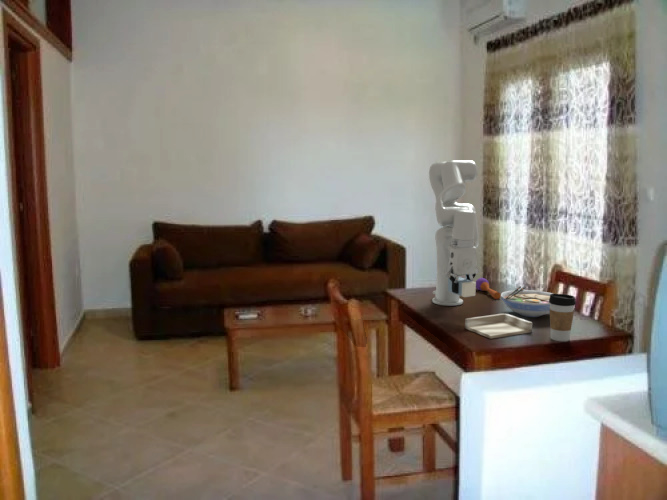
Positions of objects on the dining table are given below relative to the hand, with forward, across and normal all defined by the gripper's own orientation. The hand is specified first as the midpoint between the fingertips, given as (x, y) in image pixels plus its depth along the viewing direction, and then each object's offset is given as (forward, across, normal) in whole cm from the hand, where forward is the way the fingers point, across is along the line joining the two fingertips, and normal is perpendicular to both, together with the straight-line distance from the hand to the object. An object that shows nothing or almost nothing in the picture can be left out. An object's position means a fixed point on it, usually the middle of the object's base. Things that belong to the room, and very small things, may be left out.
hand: (461, 291), depth 230 cm
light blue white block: (+1, 0, 0) cm, 1 cm away
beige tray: (+11, +4, -17) cm, 20 cm away
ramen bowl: (+11, +29, -6) cm, 31 cm away
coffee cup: (+10, +16, -34) cm, 39 cm away
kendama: (+13, +37, +30) cm, 49 cm away
